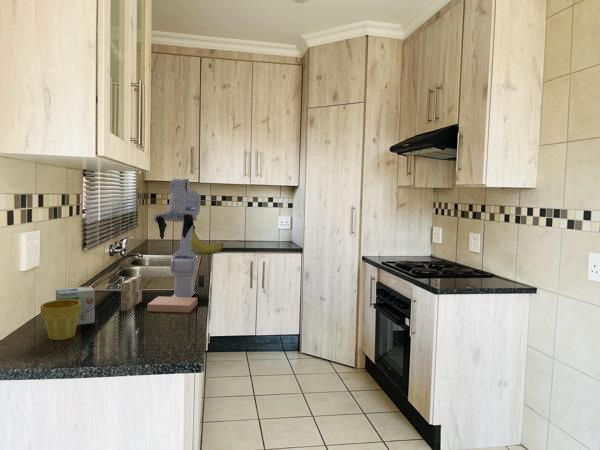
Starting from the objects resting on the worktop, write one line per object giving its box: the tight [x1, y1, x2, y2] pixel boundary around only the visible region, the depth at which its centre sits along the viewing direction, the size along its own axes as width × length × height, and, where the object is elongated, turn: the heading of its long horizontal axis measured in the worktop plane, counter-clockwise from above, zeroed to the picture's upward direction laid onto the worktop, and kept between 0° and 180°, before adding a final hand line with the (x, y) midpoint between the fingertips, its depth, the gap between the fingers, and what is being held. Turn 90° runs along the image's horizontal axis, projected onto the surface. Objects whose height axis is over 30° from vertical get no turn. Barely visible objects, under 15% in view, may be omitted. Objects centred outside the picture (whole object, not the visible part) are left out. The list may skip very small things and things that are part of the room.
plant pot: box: [40, 299, 81, 341], centre depth 129 cm, size 10×10×10 cm
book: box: [146, 295, 198, 313], centre depth 165 cm, size 12×15×3 cm
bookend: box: [120, 274, 143, 312], centre depth 165 cm, size 15×2×10 cm, turn 0°
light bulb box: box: [55, 285, 96, 326], centre depth 143 cm, size 11×7×11 cm, turn 126°
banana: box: [191, 224, 224, 254], centre depth 309 cm, size 23×6×20 cm, turn 105°
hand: (172, 236), depth 153 cm, fingers open, 7 cm apart
